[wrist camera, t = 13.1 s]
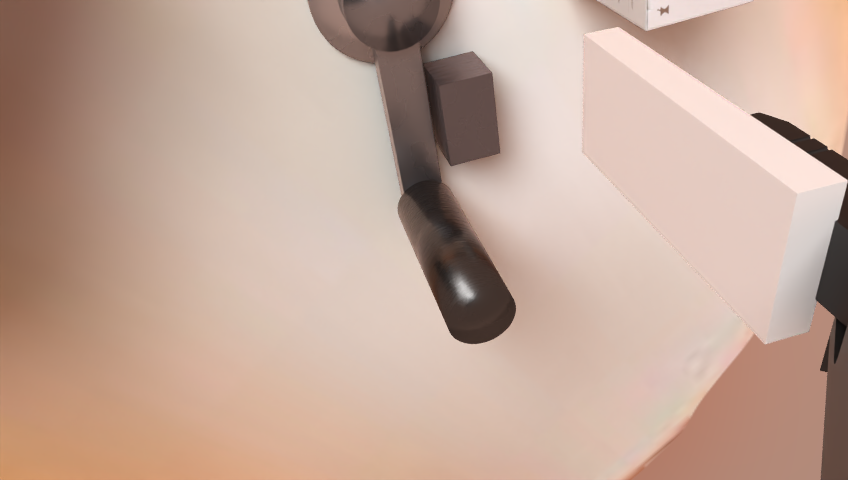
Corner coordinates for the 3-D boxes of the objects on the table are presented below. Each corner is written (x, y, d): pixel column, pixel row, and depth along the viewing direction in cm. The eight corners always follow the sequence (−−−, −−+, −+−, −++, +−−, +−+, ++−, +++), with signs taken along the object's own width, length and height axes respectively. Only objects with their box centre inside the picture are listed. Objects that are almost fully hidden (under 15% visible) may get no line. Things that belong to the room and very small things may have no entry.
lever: (327, -47, 38) (375, 30, 28) (457, -76, 39) (550, -13, 29) (387, 227, 48) (439, 355, 38) (490, 199, 49) (567, 317, 39)
